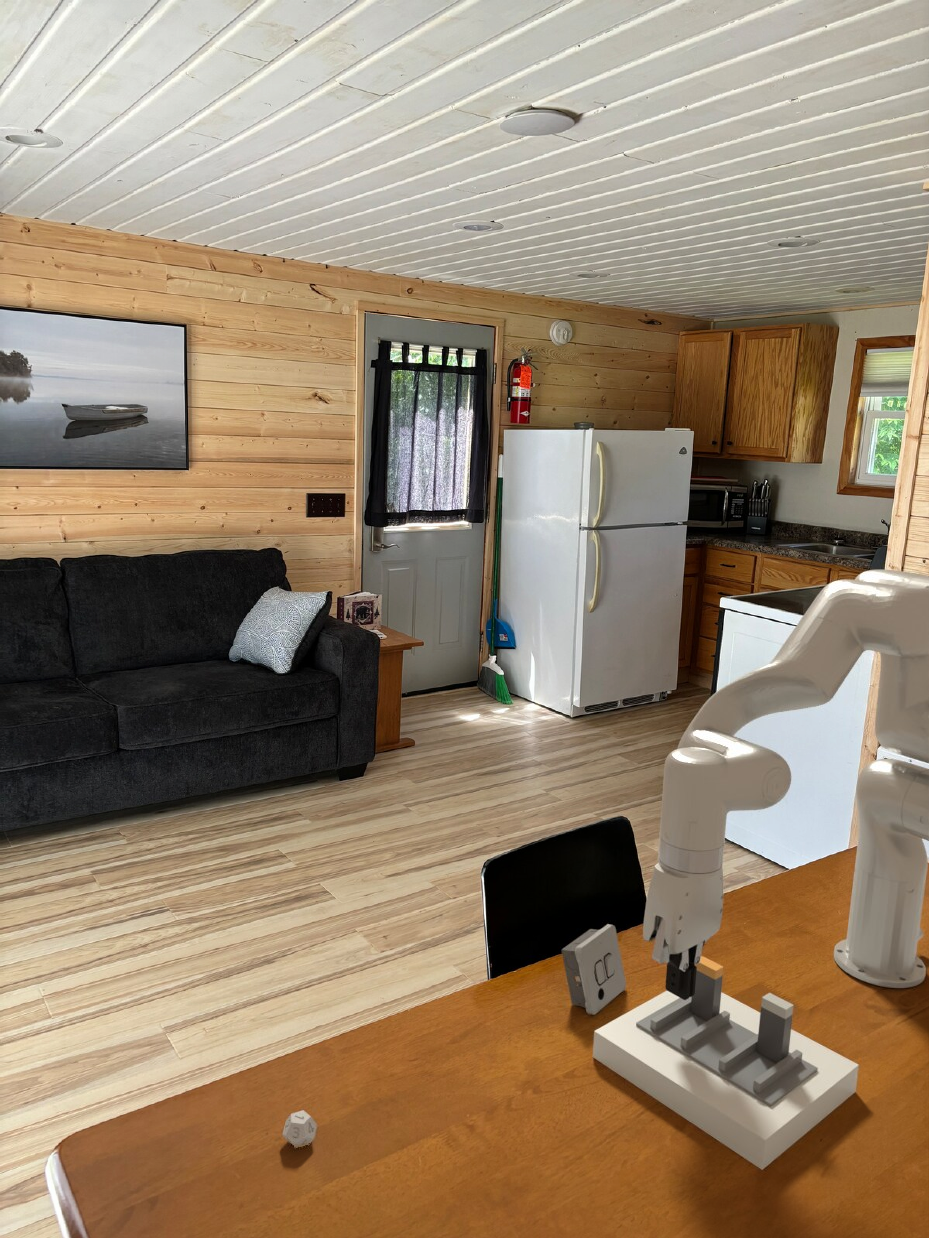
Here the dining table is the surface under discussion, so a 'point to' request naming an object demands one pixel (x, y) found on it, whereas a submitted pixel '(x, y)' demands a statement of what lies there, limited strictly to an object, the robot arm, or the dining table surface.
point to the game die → (299, 1128)
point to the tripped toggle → (707, 989)
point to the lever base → (729, 1070)
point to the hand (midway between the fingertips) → (679, 992)
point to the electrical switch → (594, 969)
